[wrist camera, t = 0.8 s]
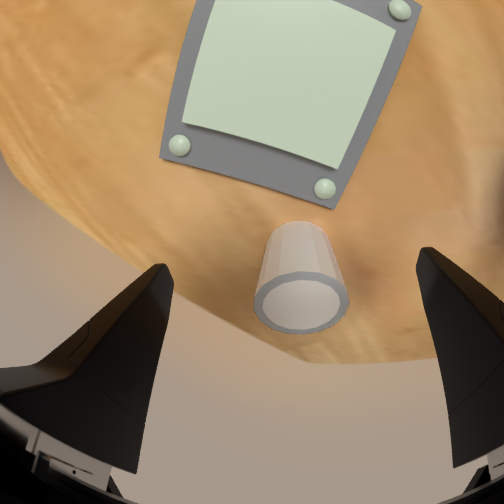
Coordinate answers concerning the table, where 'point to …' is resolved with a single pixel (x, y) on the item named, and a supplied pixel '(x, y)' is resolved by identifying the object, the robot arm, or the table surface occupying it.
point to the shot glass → (300, 281)
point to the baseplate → (285, 89)
